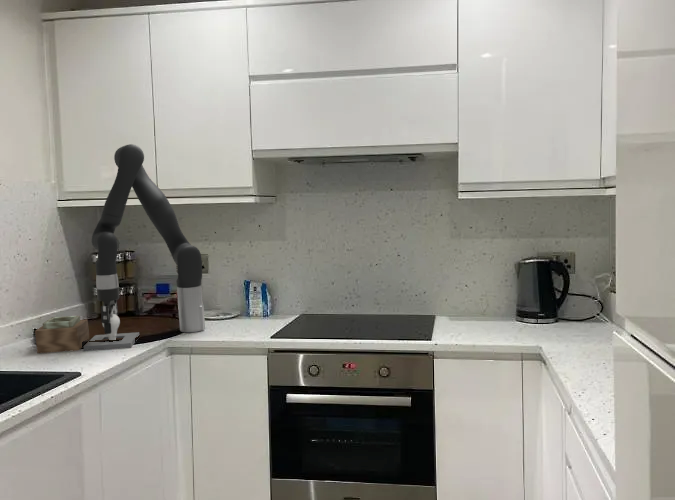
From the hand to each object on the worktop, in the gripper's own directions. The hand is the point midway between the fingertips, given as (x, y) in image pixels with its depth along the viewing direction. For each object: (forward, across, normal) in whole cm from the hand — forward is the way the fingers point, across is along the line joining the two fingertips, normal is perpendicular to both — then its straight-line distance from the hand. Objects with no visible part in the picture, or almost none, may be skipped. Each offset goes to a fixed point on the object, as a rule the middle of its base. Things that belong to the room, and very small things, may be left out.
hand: (110, 330), depth 236 cm
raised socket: (+5, 0, +17) cm, 17 cm away
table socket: (+5, 0, 0) cm, 5 cm away
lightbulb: (+5, 0, 0) cm, 5 cm away
